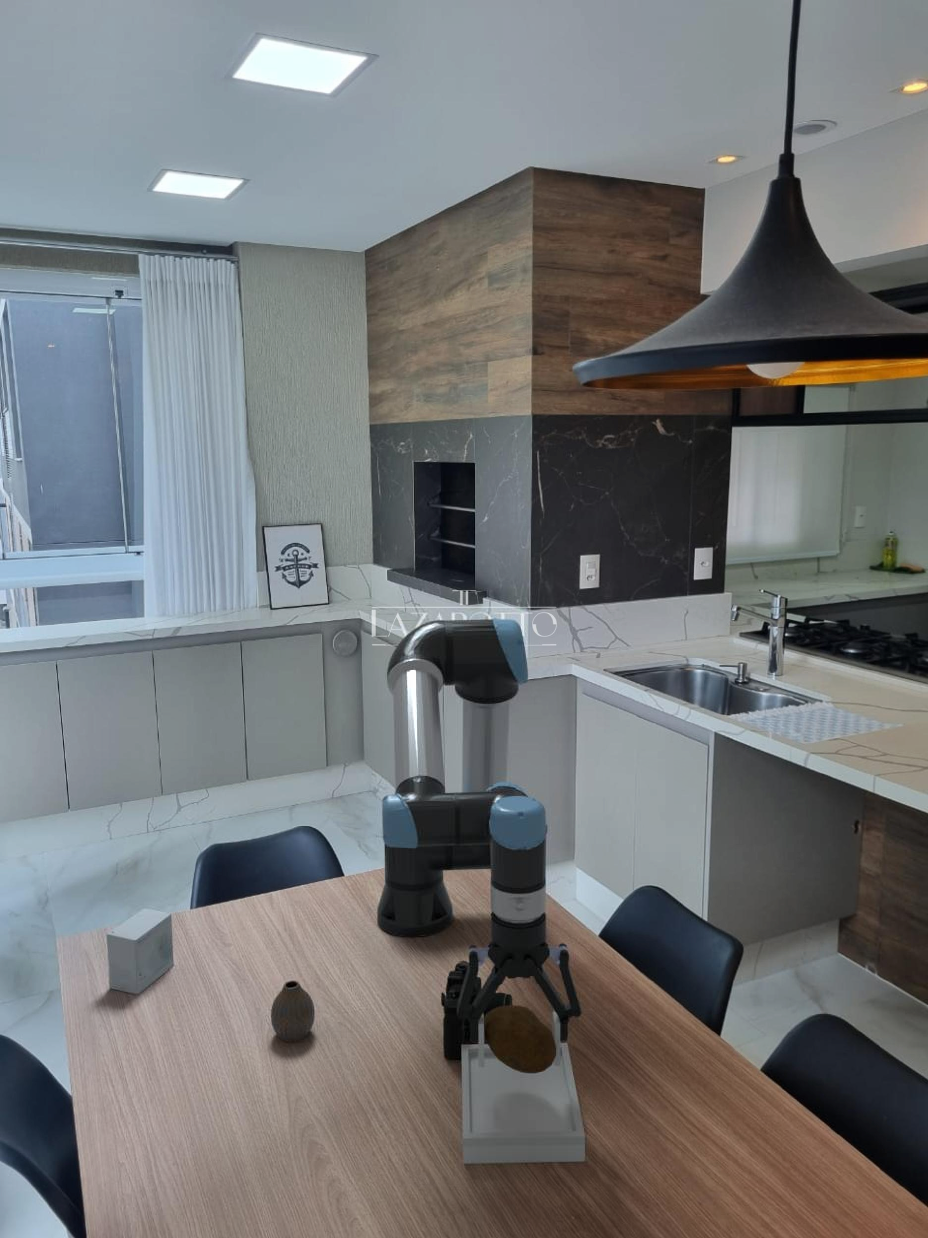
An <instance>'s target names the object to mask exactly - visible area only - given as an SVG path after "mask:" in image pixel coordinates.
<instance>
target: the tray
mask: <svg viewBox="0 0 928 1238" xmlns="http://www.w3.org/2000/svg"><path fill="white" fill-rule="evenodd" d="M461 1101H462V1102H461V1106H462V1107H461V1108H462V1109H461V1110H462V1113H461V1115H462V1116H461V1117H462V1120H461V1121H462V1123H461V1124H462V1164H469V1165H470V1164H513V1163H515V1164H519V1163H520V1164H522V1163H523V1164H524V1163H563V1162H564V1163H573V1162H574V1163H575V1162H576V1163H579V1162H583V1163H585V1161H586V1135H585V1129H584V1123H583V1118H582V1114H581V1113H582V1111H581V1108H580V1107H581V1106H580V1103H579V1102H580V1101H579V1097H578V1092H577V1086H576V1082H575V1076H574V1072H573V1067H572V1061H571V1055H570V1050H569V1045H568V1043H567V1042H560V1066H555V1065H554V1061H553V1063H552V1065H551V1066H550V1067H549V1068H547V1069H546V1070H545V1071H543V1072H539V1073H522V1072H519V1071H516V1070H514V1069H512V1068H510V1067H508V1066H506V1065H505V1064H504V1063H502V1062H501V1061H500V1060H499V1059H497V1057H496V1056H495V1055H494V1053H493V1052H492V1051H491V1049H490V1047H489V1045H488V1044H487V1043H484V1067H479V1056H478V1043H477V1044H476V1043H475V1044H473V1043H472V1044H466V1045H462V1060H461Z"/></svg>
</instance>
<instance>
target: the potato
mask: <svg viewBox="0 0 928 1238" xmlns="http://www.w3.org/2000/svg"><path fill="white" fill-rule="evenodd" d="M484 1041H486V1044H488V1045H489V1047H490V1049H491V1051H492V1052H493V1053H494V1055H495V1056H496V1057H497V1059H499V1060H500V1061H501V1062H502V1063H504V1064H505V1065H506V1066H508V1067H510V1068H512V1069H514V1070H516V1071H519V1072H522V1073H539V1072H543V1071H545V1070H546V1069H547V1068H549V1067H550V1066H551V1065H552V1063H553V1061H554V1059H555V1057H556V1045H555V1041H554V1038H553V1031H551V1029H550V1028H549V1027H548V1026H546V1025H545V1024H544V1023H543V1022H542V1021H541V1020H540V1018H538V1017H537V1015H536V1014H535V1013H534V1011H533V1010H531V1009H530V1008H529V1007H527V1006H523V1005H513V1004H512V1005H508V1006H500V1007H497V1008H494V1009H493V1010H491V1011H489V1012H488V1013H487V1014H486V1015H485V1016H484Z"/></svg>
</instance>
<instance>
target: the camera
mask: <svg viewBox="0 0 928 1238" xmlns="http://www.w3.org/2000/svg"><path fill="white" fill-rule="evenodd" d="M468 965H469V961H466V960H461V961H459V962H458V963H456V964H455V966H454V970H451V971H449V972H448V976H447V980H446V986H445V993H444V992H443V991H442V992H441V994H440V995H441V996H440V1004H441V1005H440V1006H442V1007H443V1013H444V1016H443V1019H442V1024H443V1025H442V1026H443V1029H442V1030H443V1031H442V1032H443V1034H442V1035H443V1036H442V1037H443V1041H442V1042H443V1044H442V1045H443V1048H442V1049H443V1057H444V1058H445V1059H447V1060H449V1061H455V1062H460V1061H462V1045H467V1042H468V1041H471V1040H470V1022H469V1020H467V1019H465V1018H464V1019H459V1018H458V1017H457V1003H458V999H459V996H460V993H461V989H462V986H463V982H464V979H465V975H466V972H467V968H468ZM482 987H483V985H482V978H481V977H480V976H477V979H476V982H475V986H474V989H473V992H472V996H471V999H470V1003H469V1006H470V1005H472V1004H473V1002H474V1000H475V999H476V997H477V995H478V994H479V992H480V990H481V989H482ZM508 1005H513V997H512V994H511V993H506V992H497V991H496V992H495V994H494V996H493V997H492V999H491V1001H490V1002H489V1004H488V1006H487V1007H486V1009H485V1011H484V1012H483V1015H484V1016H485V1015H486V1014H487V1013H488V1012H489V1011H491V1010H493V1009H494V1008H497V1007H500V1006H508Z"/></svg>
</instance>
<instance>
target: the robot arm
mask: <svg viewBox="0 0 928 1238" xmlns="http://www.w3.org/2000/svg"><path fill="white" fill-rule="evenodd" d="M526 652H527V651H526V647H525V641H524V636H523V631H522V628H521V625H520V624H519V622H518V621H516V620H514V619H508V618H506V619H503V618H501V619H499V618H496V617H493V618H488V619H485V618H484V619H455V620H453V619H452V620H450V619H449V620H446V619H445V620H444V619H441V620H440V619H439V620H437V619H436V620H432V621H428V622H425V623H422V624H420V625H419V626H417V627H415V628H414V629H413V630H411V631H410V632H409V633H407V634H406V635H405V636H404V637H403V638H402V639H401V641H400V642H399V643H398V644H397V646H396V648H395V649H394V650H393V652H392V655H391V656H390V659H389V662H388V665H387V669H386V670H387V671H386V685H387V688H388V691H389V692H390V694H391V695H392V697H393V698H392V699H393V702H392V703H393V737H394V738H393V740H394V741H393V742H394V743H393V744H394V745H393V747H394V751H393V752H394V794H387V795H385V796H383V798H382V803H381V804H382V809H381V811H382V812H381V813H382V815H381V817H382V840H383V843H384V845H383V848H384V886H383V889H382V892H381V896H380V899H379V902H378V906H377V909H376V917H377V924H378V926H379V927H380V928H381V929H382V930H384V931H385V932H387V933H389V934H391V935H395V936H401V937H409V938H411V937H412V938H413V937H425V936H429V935H433V934H437V933H440V932H441V931H443V930H445V929H447V928H448V927H449V926H450V925H451V923H452V922H453V918H454V916H453V914H454V912H453V905H452V904H453V903H452V901H451V898H450V895H449V893H448V889H447V887H446V884H445V882H444V871H445V872H446V871H469V870H471V871H472V870H490V909H491V913H490V942H489V944H488V946H486V947H477V945H475V944H471V945H469V947H468V963H469V965H468V968H467V972H466V975H465V979H464V982H463V986H462V989H461V993H460V996H459V999H458V1003H457V1017H458V1018H459V1019H464V1018H465V1019H467V1020H469V1022H470V1040H469V1041H471V1043H477V1044H478V1056H479V1067H484V1044H485V1037H484V1015H483V1012H484V1011H485V1009H486V1007H487V1006H488V1004H489V1002H490V1001H491V999H492V997H493V996H494V994H495V992H496V993H497V990H498V989H499V988H500V986H502V985H503V983H504V982H505V980H506V978H507V979H508V980H509V979H511V980H512V979H516V978H522V979H531V978H532V977H533V979H534V981H535V982H536V984H537V985H538V986H539V987H540V989H541V991H542V992H543V994H544V996H545V997H546V998H547V1001H548V1003H549V1004H550V1005H551V1007H552V1009H553V1010H554V1011H552V1035H553V1038H554V1041H555V1045H556V1057H555V1059H554V1065H555V1066H560V1043H561V1041H562V1042H563V1041H564V1042H566V1041H567V1040H568V1038H569V1023H570V1019H571V1018H573V1017H575V1018H579V1017H580V1016H581V1015H582V1009H581V1005H580V1004H581V1003H580V1001H579V997H578V993H577V991H576V988H575V983H574V980H573V978H572V974H571V969H570V968H569V965H570V964H569V963H570V954H569V949H568V945H567V944H566V943H564V942H563V943H560V944H558V946H553V945H551V946H550V945H549V944H548V942H547V914H546V910H547V899H546V898H547V886H546V885H547V879H546V877H547V876H546V873H547V872H546V867H547V866H546V865H547V863H546V862H547V834H548V825H547V818H546V817H547V814H546V813H547V812H546V808H545V806H544V804H543V803H542V802H541V801H539V800H536V799H535V798H533V797H529V795H528V794H527V793H526V792H525V791H524V789H523V788H522V787H520V786H519V785H518V784H516V783H513V782H509V781H507V777H508V773H507V772H508V755H509V753H508V751H509V750H508V748H509V728H510V727H509V726H510V725H509V723H510V703H511V701H512V700H513V699H514V698H516V696H517V695H518V694H519V685H524V684H527V682H528V681H529V672H528V671H529V669H528V659H527V654H526ZM443 686H454V691H455V693H456V695H457V696H458V697H459V698H460V699H461V700H462V746H461V748H462V752H461V753H462V754H461V757H462V760H461V762H462V763H461V792H459V791H458V792H447V791H446V782H445V768H444V767H445V766H444V752H443V742H442V740H443V739H442V727H441V726H442V725H441V724H442V723H441V713H440V711H441V710H440V700H439V699H440V698H439V693H440V692H441V690H442V688H443ZM549 957H551V958H552V960H553V962H554V964H556V965H558V968H559V973H560V975H561V980H562V982H563V985H564V989H565V992H566V996H567V999H568V1002H569V1003H566V1004H565V1002H564V1000H563V999H562V997H561V996H560V994H559V992H558V990H557V989H556V987H555V985H554V984H553V983H552V981H551V979H550V978H549V975H548V974H547V973H546V971H545V969H544V966H543V965H545V964H544V963H545V962H546V961H547V960H548V958H549ZM486 958H488V959H489V960H490V961H491V963H492V964H493V967H492V970H491V972H490V974H489V975H488V977H487V978H486V980H485V982H484V983H483V985H482V988H481V990H480V992H479V994H478V995H477V997H476V999H475V1000H474V1002H473V1004H472V1005H470V1006H469V1003H470V999H471V996H472V992H473V989H474V986H475V982H476V979H477V977H478V974H479V967H481V966H482V965H483V964H484V963H485V960H486Z"/></svg>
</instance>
